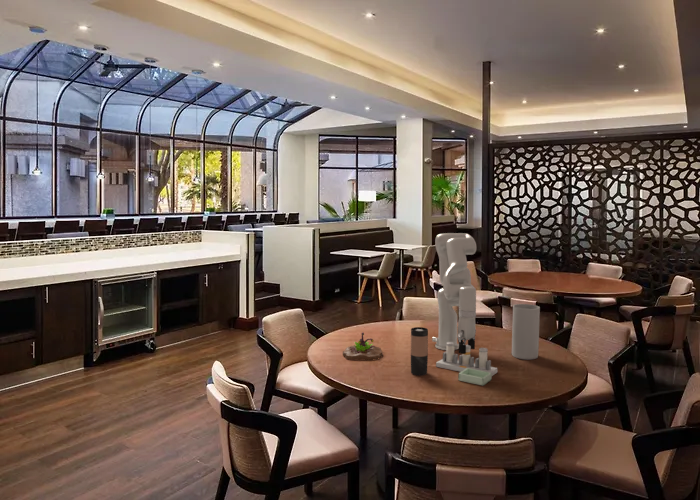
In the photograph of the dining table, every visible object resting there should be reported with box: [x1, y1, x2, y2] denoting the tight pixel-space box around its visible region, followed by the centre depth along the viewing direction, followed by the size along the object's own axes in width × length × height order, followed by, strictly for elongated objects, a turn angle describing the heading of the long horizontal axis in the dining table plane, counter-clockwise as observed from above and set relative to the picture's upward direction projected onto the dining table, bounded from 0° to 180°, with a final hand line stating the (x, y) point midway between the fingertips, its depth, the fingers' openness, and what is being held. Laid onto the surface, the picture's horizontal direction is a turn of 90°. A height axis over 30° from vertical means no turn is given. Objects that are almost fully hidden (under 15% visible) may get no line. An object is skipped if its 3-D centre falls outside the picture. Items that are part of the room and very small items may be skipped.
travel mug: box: [410, 326, 429, 376], centre depth 236 cm, size 8×8×20 cm
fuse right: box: [478, 347, 489, 370], centre depth 237 cm, size 4×4×9 cm
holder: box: [435, 351, 498, 377], centre depth 242 cm, size 26×9×6 cm, turn 54°
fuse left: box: [445, 342, 455, 363], centre depth 246 cm, size 4×4×9 cm
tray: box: [457, 368, 493, 387], centre depth 228 cm, size 11×9×3 cm
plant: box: [342, 331, 384, 361], centre depth 266 cm, size 20×20×11 cm
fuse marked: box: [461, 344, 472, 366], centre depth 241 cm, size 4×4×9 cm
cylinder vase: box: [511, 303, 541, 361], centre depth 261 cm, size 12×12×25 cm
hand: (466, 351), depth 241 cm, fingers open, 9 cm apart
